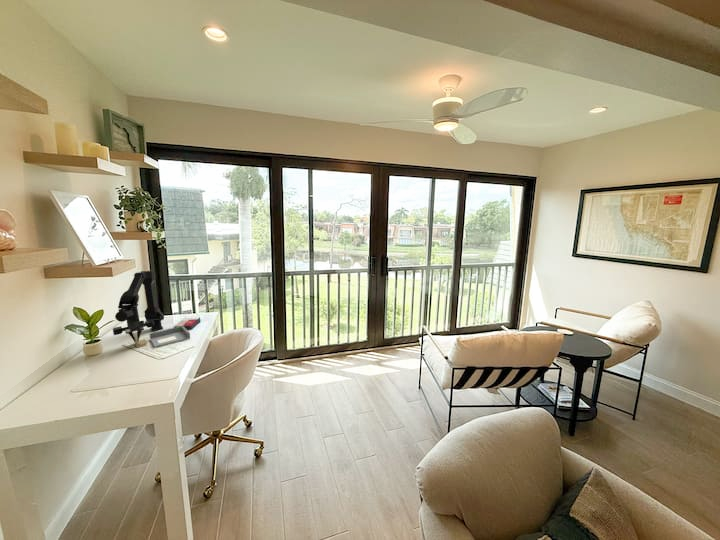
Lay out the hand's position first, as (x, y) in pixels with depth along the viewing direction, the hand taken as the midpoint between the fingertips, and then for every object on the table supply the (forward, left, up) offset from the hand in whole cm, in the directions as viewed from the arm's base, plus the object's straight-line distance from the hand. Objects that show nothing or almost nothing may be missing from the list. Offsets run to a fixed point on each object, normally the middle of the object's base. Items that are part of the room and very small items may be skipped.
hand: (136, 341), depth 168 cm
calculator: (-13, +29, -3) cm, 32 cm away
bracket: (0, +2, -3) cm, 3 cm away
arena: (+4, +16, -2) cm, 17 cm away
